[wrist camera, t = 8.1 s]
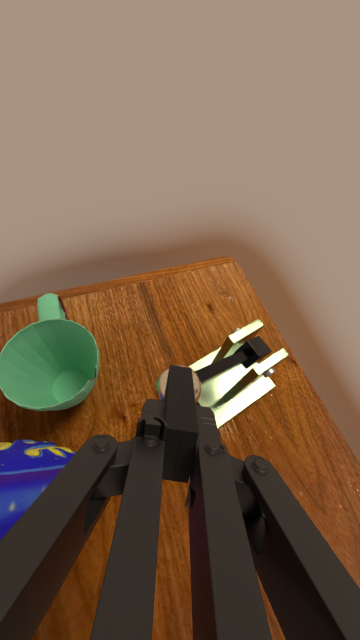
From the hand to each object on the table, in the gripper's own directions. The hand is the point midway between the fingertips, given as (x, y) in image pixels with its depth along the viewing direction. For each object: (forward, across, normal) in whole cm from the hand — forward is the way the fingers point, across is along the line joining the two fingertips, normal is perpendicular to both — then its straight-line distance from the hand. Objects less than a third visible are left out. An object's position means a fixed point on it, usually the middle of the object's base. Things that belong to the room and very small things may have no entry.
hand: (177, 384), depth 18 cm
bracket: (+19, +8, -8) cm, 22 cm away
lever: (+7, +4, -3) cm, 9 cm away
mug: (+18, -14, -10) cm, 24 cm away
